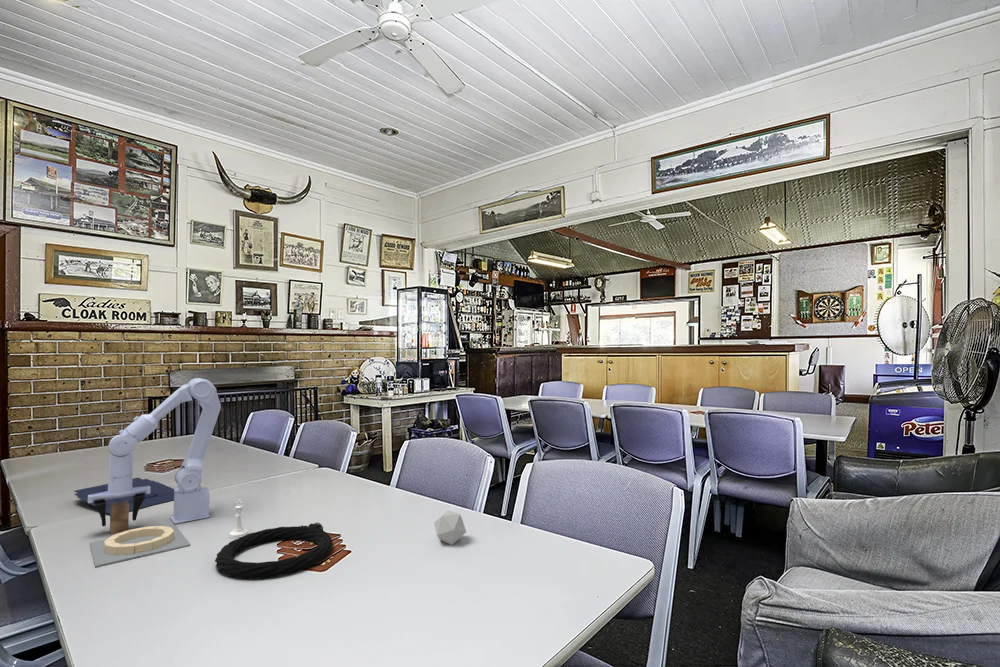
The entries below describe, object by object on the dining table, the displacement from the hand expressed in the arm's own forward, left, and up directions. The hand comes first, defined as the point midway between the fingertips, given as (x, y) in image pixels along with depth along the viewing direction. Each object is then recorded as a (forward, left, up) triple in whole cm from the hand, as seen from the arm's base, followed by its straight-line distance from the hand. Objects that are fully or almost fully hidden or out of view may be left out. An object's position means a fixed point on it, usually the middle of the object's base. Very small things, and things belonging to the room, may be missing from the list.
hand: (119, 522), depth 145 cm
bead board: (-3, +17, -2) cm, 17 cm away
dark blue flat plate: (-6, -35, -3) cm, 36 cm away
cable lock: (-29, +49, -3) cm, 57 cm away
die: (-67, +72, -3) cm, 98 cm away
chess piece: (-25, +27, -3) cm, 37 cm away
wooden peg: (0, 0, -2) cm, 2 cm away
